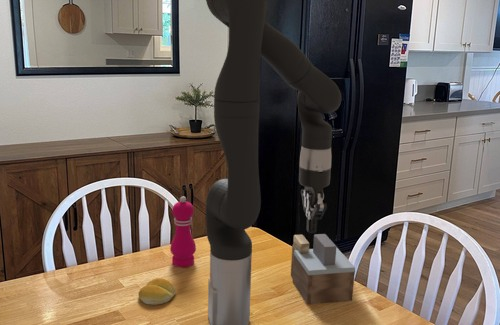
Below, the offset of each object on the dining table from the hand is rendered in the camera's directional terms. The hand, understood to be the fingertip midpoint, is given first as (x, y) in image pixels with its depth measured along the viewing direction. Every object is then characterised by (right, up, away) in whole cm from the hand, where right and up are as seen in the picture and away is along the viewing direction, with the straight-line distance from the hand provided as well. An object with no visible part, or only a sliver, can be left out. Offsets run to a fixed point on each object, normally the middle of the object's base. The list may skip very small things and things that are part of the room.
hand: (311, 232), depth 123 cm
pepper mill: (-35, -12, +19) cm, 41 cm away
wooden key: (-2, -5, +8) cm, 10 cm away
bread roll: (-39, -16, +1) cm, 42 cm away
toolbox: (+3, -16, +7) cm, 17 cm away
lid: (+3, -9, +4) cm, 11 cm away
